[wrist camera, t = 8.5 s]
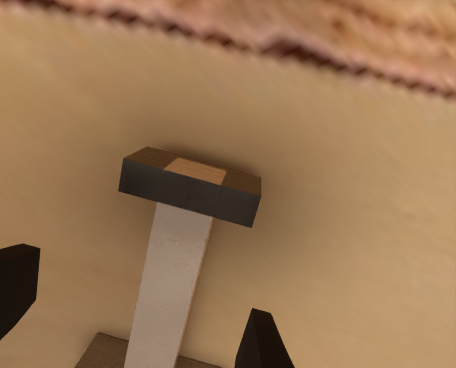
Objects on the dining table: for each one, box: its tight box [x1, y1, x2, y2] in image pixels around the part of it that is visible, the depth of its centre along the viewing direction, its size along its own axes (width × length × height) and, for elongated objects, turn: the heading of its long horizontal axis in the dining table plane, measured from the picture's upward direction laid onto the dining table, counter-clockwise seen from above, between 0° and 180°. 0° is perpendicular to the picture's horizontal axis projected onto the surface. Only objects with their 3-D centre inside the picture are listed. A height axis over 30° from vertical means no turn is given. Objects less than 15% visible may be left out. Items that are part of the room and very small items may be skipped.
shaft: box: [118, 147, 261, 368], centre depth 18 cm, size 6×23×3 cm, turn 166°
